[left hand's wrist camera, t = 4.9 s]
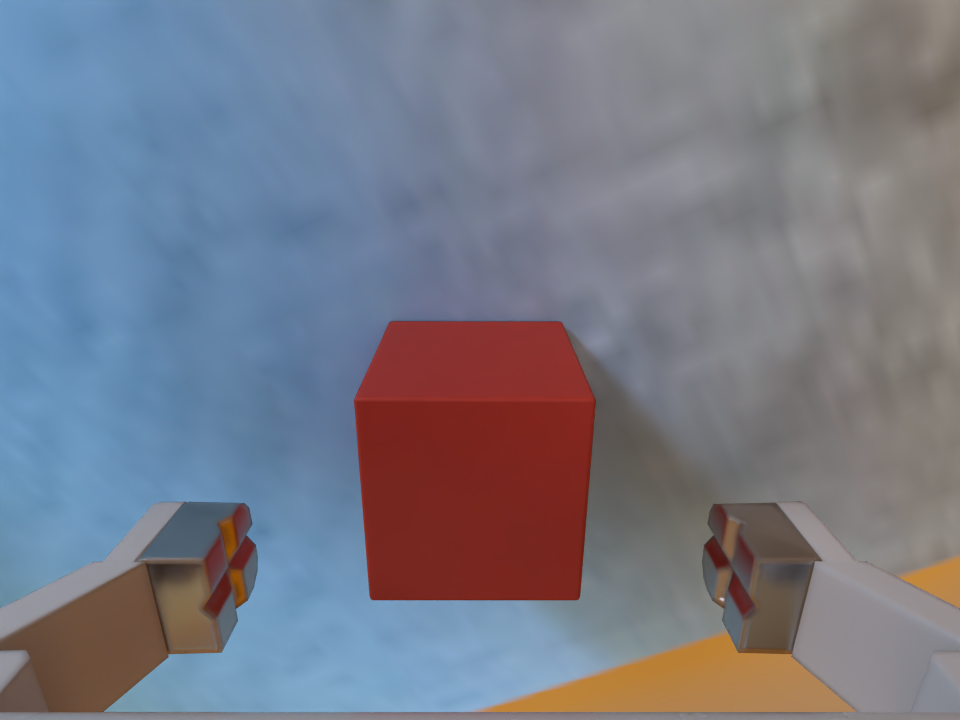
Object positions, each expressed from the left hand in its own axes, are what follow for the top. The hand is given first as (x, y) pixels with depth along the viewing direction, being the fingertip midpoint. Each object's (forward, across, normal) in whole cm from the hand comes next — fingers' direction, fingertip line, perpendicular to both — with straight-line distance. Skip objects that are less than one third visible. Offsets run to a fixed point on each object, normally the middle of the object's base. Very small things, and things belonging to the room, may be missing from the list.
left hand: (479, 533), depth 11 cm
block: (+6, 0, 0) cm, 6 cm away
